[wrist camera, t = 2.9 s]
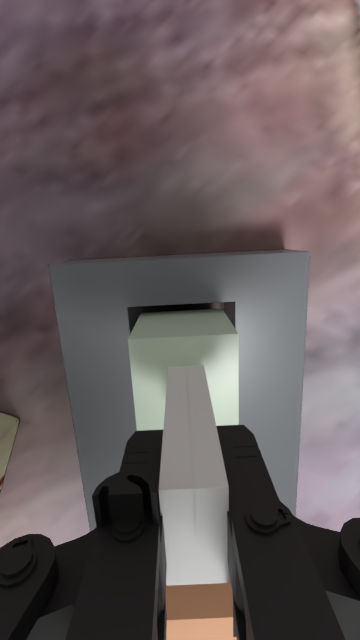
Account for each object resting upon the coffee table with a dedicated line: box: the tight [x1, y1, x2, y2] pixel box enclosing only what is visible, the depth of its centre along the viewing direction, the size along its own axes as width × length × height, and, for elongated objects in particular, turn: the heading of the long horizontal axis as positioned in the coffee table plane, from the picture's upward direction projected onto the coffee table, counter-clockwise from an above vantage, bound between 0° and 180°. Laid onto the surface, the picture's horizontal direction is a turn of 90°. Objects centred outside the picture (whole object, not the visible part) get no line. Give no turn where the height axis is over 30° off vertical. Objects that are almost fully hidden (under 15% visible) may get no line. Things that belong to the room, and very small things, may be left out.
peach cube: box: [165, 579, 237, 640], centre depth 21 cm, size 5×5×5 cm
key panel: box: [48, 249, 310, 532], centre depth 22 cm, size 14×28×4 cm, turn 3°
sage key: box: [128, 309, 239, 431], centre depth 16 cm, size 5×5×5 cm
